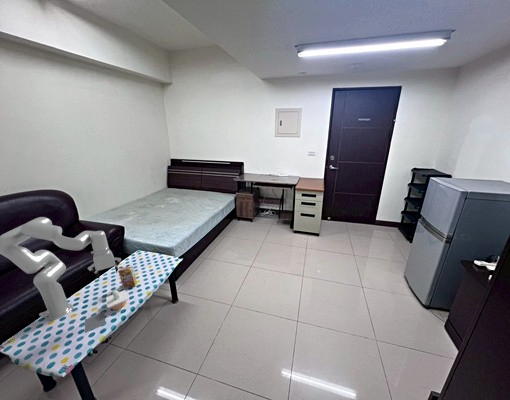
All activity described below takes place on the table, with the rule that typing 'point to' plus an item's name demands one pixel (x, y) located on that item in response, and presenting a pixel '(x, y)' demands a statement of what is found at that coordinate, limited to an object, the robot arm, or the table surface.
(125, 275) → the candy box
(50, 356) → the table surface
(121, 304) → the bowl
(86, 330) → the mat
